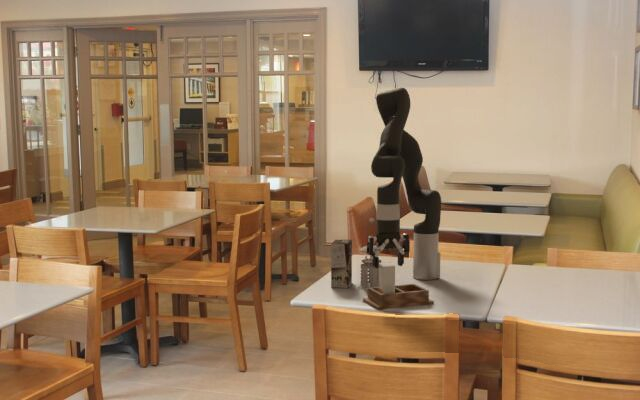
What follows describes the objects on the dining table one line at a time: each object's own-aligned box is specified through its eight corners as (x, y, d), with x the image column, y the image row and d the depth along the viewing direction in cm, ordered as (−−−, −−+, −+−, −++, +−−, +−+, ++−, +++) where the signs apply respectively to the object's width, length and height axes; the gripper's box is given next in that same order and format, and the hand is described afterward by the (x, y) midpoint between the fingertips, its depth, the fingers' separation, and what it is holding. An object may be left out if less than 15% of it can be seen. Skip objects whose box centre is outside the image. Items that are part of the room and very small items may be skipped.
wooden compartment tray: (416, 295, 260) (417, 282, 259) (433, 304, 249) (434, 290, 248) (362, 301, 253) (362, 287, 253) (377, 310, 242) (377, 296, 241)
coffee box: (348, 288, 271) (348, 243, 269) (330, 287, 272) (330, 243, 270) (352, 282, 280) (352, 239, 278) (335, 282, 281) (335, 238, 279)
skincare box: (378, 298, 252) (378, 262, 251) (390, 297, 253) (391, 262, 251) (382, 302, 246) (382, 266, 245) (395, 302, 247) (395, 265, 245)
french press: (388, 285, 275) (388, 216, 272) (380, 292, 264) (380, 221, 261) (362, 283, 278) (362, 215, 275) (353, 290, 268) (353, 220, 265)
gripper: (402, 214, 252) (402, 262, 254) (363, 217, 247) (363, 266, 249) (413, 217, 245) (413, 267, 247) (372, 220, 240) (373, 271, 242)
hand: (388, 266), depth 248 cm, fingers open, 8 cm apart
